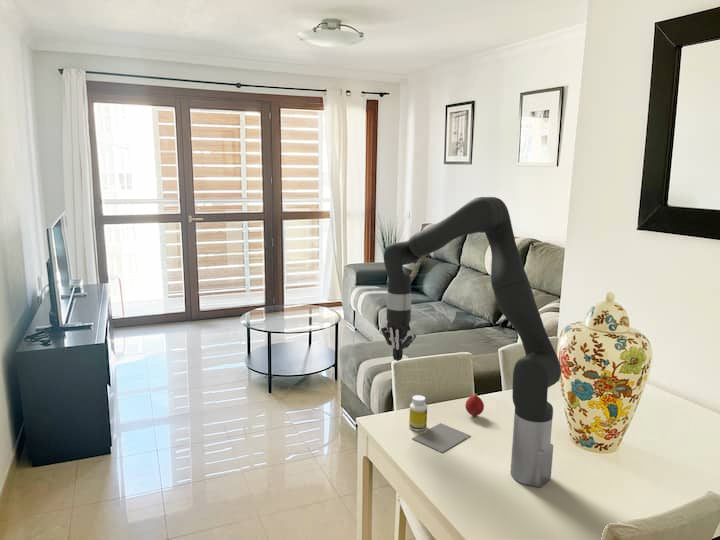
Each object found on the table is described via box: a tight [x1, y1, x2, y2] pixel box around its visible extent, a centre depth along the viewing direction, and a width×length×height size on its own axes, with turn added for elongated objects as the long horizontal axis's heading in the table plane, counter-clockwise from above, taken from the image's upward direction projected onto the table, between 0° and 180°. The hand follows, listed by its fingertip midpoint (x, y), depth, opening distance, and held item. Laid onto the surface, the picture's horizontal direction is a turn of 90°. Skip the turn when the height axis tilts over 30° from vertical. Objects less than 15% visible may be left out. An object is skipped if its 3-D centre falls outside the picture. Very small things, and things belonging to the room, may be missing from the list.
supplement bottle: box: [408, 394, 428, 432], centre depth 161 cm, size 5×5×10 cm
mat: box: [411, 422, 471, 454], centre depth 156 cm, size 11×14×1 cm
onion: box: [465, 393, 485, 418], centre depth 169 cm, size 6×6×8 cm
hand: (397, 359), depth 165 cm, fingers closed
